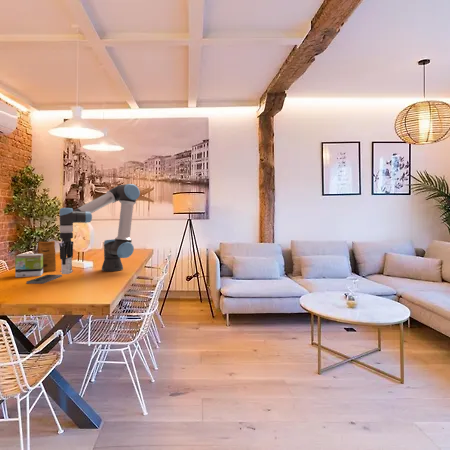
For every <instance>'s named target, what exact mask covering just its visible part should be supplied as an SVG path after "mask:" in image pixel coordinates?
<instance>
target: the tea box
mask: <svg viewBox="0 0 450 450" xmlns="http://www.w3.org/2000/svg"><path fill="white" fill-rule="evenodd" d="M14 257H15V260H14V261H15V262H14V263H15V265H14V266H15V269H14V270H15V271H14V273H15V278H24V277H25V278H26V277H29V278H30V277H42V276H43V274H44V272H43V254H37V253H19V254H17V255H15V256H14Z"/></svg>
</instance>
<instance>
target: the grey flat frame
mask: <svg viewBox="0 0 450 450" xmlns="http://www.w3.org/2000/svg"><path fill="white" fill-rule="evenodd" d="M61 277H63V274H45V275H41V276H38V277H36V278H33V279H30V280H28V281H26V284H31V285H34V284H35V285H36V284H37V285H38V284H39V285H41V284H42V285H44V284H46V283H48V282H51V281H52V282H53V281H55V280H56V279H57V280H58V279H59V278H61Z"/></svg>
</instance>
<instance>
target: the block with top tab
mask: <svg viewBox="0 0 450 450" xmlns="http://www.w3.org/2000/svg"><path fill="white" fill-rule="evenodd" d="M66 259H67V270H62V259H60V260H61V261H60V262H61V270H60V271H59V272H60V273H61V275H70V274H72V273H73V272H74V270H73V258H72V257H67V256H66Z"/></svg>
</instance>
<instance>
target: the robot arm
mask: <svg viewBox="0 0 450 450" xmlns="http://www.w3.org/2000/svg"><path fill="white" fill-rule="evenodd" d="M140 195H141V191H140V189H139V187H138V185H136V184H134V183H126V184H125V183H124V184H119V185H116V186H115V187H112V188H111V189H109V190H107V191H106V193H105V194H102V195H101V196H98V197H96V198H94V199H93V200H91V201H89V202H87V203H85V204H83V205H81V206H79V207H77V208H75V209H73V208H72V207H60V209H59V213H58V215H59V238H60V240H61V242H60V243H58V245H59V260H61V259H62V268H61V271H62V270H67V259H66V257H72V259H73V258H74V241H72V239H73V238H74V223H75V224H77V223H78V224H83V223H84V224H86V223H91V222H92V219H93V215H92V214H93V213H95V212H96V211H99V210H100V209H102V208H104V207H106V206H108V205H110V204H114V203H116V202H119V203H120V212H119V219H118V229H117V230H118V231H117V236H116V237H115V238H114V239H105V240H104V243H103V257H104V258H103V263H102V265H101V271H103V272H118V271H122V270H124V265H123V262H122V259H128V258H130V257H131V256H132V255H133V253H134V249H135V248H134V245H133V243H132V239H131V231H132V222H133V221H132V220H133V212H134V205H135V204H137V203H136V202H137V199H139V197H140Z"/></svg>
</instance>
